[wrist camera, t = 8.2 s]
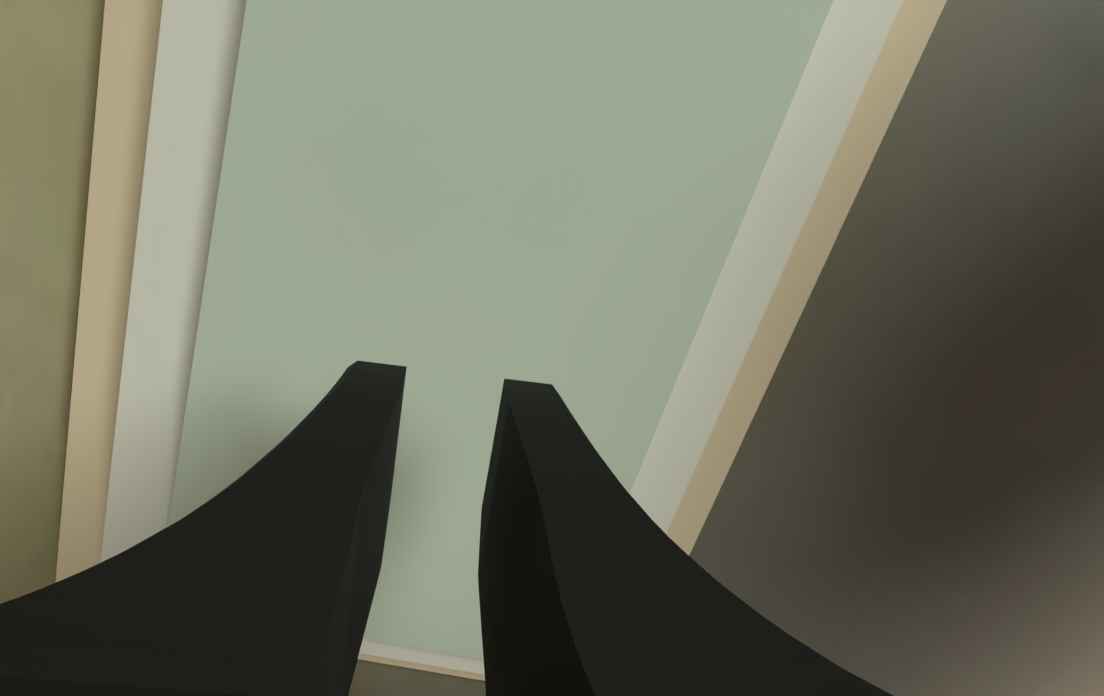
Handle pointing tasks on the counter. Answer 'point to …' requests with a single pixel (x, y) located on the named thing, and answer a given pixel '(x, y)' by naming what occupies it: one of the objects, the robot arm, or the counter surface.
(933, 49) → the counter surface
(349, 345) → the picture frame
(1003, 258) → the counter surface
